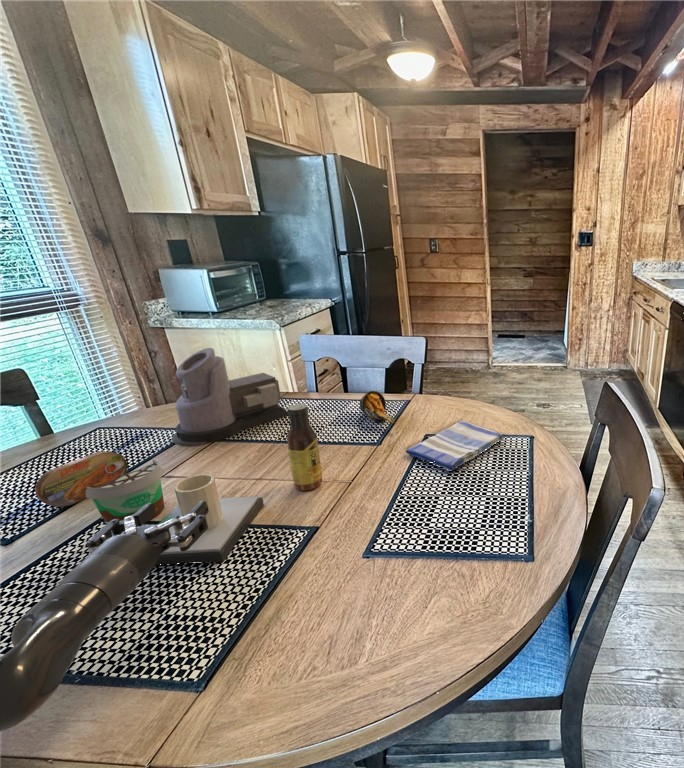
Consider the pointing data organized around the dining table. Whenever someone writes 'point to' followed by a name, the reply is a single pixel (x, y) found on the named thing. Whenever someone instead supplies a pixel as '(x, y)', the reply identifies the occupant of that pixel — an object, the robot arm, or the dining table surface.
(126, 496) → the food container
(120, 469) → the tin
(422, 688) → the dining table surface
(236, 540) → the kitchen scale
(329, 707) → the dining table surface
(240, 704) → the dining table surface
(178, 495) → the cup
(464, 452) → the dish towel
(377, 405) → the fried shrimp in bowl
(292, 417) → the sauce bottle
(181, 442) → the juicer
